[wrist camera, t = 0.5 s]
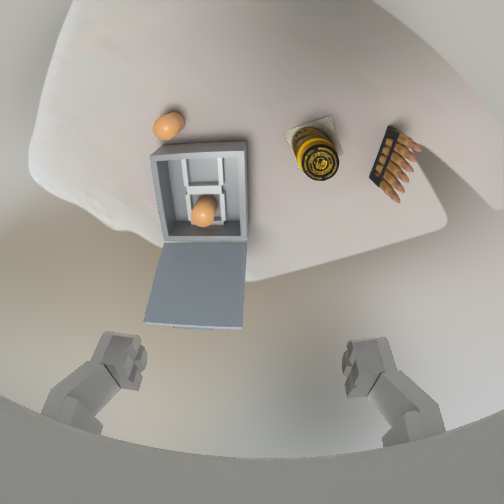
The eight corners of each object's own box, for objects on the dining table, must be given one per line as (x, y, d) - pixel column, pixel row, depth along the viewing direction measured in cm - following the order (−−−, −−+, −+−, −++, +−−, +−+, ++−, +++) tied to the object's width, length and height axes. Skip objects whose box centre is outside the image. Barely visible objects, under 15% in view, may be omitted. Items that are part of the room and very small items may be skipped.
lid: (143, 321, 42) (146, 326, 43) (242, 327, 41) (242, 331, 42) (164, 242, 52) (166, 248, 53) (246, 243, 51) (247, 248, 53)
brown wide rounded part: (161, 113, 45) (151, 117, 41) (183, 110, 45) (175, 115, 41) (163, 134, 47) (154, 141, 43) (185, 132, 47) (177, 139, 43)
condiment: (283, 131, 46) (288, 149, 37) (329, 115, 44) (348, 129, 34) (298, 168, 50) (307, 196, 40) (342, 153, 48) (363, 177, 38)
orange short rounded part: (195, 194, 53) (189, 206, 48) (217, 194, 52) (212, 206, 48) (197, 213, 55) (192, 227, 51) (218, 213, 55) (214, 227, 51)
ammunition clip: (388, 125, 44) (418, 142, 34) (396, 129, 44) (428, 147, 34) (368, 177, 50) (392, 206, 40) (377, 180, 50) (401, 209, 40)
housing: (162, 145, 48) (149, 155, 43) (246, 141, 48) (244, 150, 42) (173, 223, 57) (164, 240, 52) (248, 222, 57) (246, 241, 51)
